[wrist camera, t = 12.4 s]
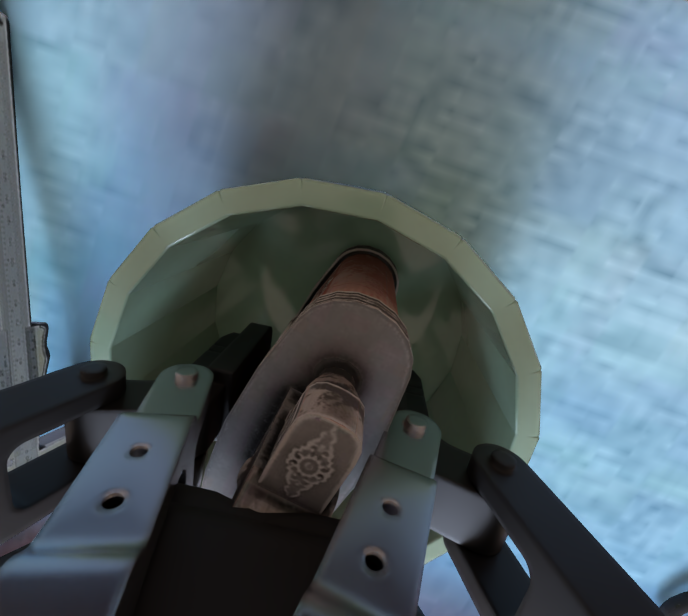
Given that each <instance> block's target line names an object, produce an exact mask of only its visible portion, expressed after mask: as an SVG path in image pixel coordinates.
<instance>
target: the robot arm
mask: <svg viewBox="0 0 688 616" xmlns="http://www.w3.org/2000/svg"><path fill="white" fill-rule="evenodd" d="M272 332H273V330H272V327H271V326H267V325H262V324H257V323H252V322H251V323H250V324H249V325H248V326H247V327H246V328H245V329H244V330H243V331H242V332H241V333H235V332H233V333H230V334H227V335H225V336H222V337H221V338H220V339H219V340H218V341H216V342H215V344H214V345H212V346H211V347H210V348H209V350H207V351H206V352H205V353H203V354H202V355H201V356H200V357H199V358H198V359H197V360H196V361H195V362H194V363H193V364H179V365H174V366H171V367H168V368H166V369H164V370H163V371H162V372H161V373H160V374H159V375H158V377H157V378H156V380H126V369H125V367H124V366H123V365H122V364H120V363H117V362H114V361H108V360H94V361H87V362H82V363H79V364H75V365H72V366H70V367H67V368H64V369H61V370H58V371H55V372H52V373H49V374H46V375H43V376H40V377H37V378H34V379H31V380H28V381H26V382H23V383H20V384H17V385H14V386H11V387H8V388H5V389H2V390H0V545H2V544H3V543H5V542H6V541H8V540H10V539H11V538H13V537H14V536H16V535H17V534H19V533H20V532H22V531H24V530H25V529H27V528H28V527H30V526H31V525H33V524H34V523H36V522H38V521H39V520H41V519H42V518H44V517H45V516H47V515H48V514H50V513H52V512H53V513H52V514H51V515H50V517H49V518H48V520H47V521H46V523H45V524H44V526H43V527H42V529H41V530H40V532H39V533H38V535H37V536H36V538H35V539H34V540H33V542H31V543H29V544H27V545H25V546H23V547H21V548H19V549H17V550H15V551H12V552H10V553H8V554H6V555H4V556H2V557H0V616H425V615H424V614H423V612H422V611H421V609H420V608H419V606H418V600H419V594H420V587H421V581H422V575H423V569H424V562H425V556H426V550H427V543H428V537H429V531H430V529H431V530H433V531H435V532H437V533H439V534H441V535H443V541H444V544H445V547H446V549H447V551H448V553H449V555H450V557H451V559H452V561H453V563H454V565H455V567H456V569H457V571H458V573H459V575H460V577H461V579H462V581H463V583H464V585H465V587H466V589H467V591H468V593H469V594H470V596H471V598H472V600H473V602H474V604H475V606H476V608H477V610H478V612H479V614H480V616H666V615H665V614H664V613H663V612H662V611H661V610H660V609H659V607H658V606H657V605H656V604H655V603H654V602H653V601H652V600H651V599H650V598H649V597H648V595H647V594H646V593H645V592H644V591H643V590H642V589H641V588H640V587H639V586H638V585H637V583H636V582H635V581H634V580H633V579H632V578H631V577H630V576H629V575H628V574H627V573H626V571H625V570H624V569H623V568H622V567H621V566H620V565H619V564H618V563H617V562H616V561H615V559H614V558H613V557H612V556H611V555H610V554H609V553H608V552H607V551H606V550H605V549H604V547H603V546H602V545H601V544H600V543H599V542H598V541H597V540H596V539H595V538H594V537H593V535H592V534H591V533H590V532H589V531H588V530H587V529H586V528H585V527H584V526H583V525H582V523H581V522H580V521H579V520H578V519H577V518H576V517H575V516H574V515H573V514H572V513H571V511H570V510H569V509H568V508H567V507H566V506H565V505H564V504H563V503H562V502H561V501H560V500H559V498H558V497H557V496H556V495H555V494H554V493H553V492H552V491H551V490H550V489H549V488H548V486H547V485H546V484H545V483H544V482H543V481H542V480H541V479H540V478H539V477H538V476H537V474H536V473H535V472H534V471H533V470H532V469H531V468H530V467H529V466H528V465H527V464H526V462H525V461H524V460H523V459H521V458H520V457H519V456H518V455H516V454H515V453H513V452H512V451H510V450H508V449H506V448H504V447H501V446H498V445H495V444H488V443H484V444H479V445H477V446H476V447H475V448H474V450H473V452H472V454H470V453H468V452H465V451H463V450H461V449H458V448H456V447H454V446H452V445H450V444H448V443H447V442H445V441H444V440H442V439H441V430H440V428H439V426H438V425H437V424H436V423H435V421H433V420H432V419H431V418H429V415H428V411H427V406H426V401H425V397H424V391H423V386H422V382H421V378H420V377H419V376H418V375H417V374H416V373H415V371H414V370H412V372H411V377H410V380H409V382H408V384H407V387H406V389H405V392H404V394H403V396H402V399H401V401H400V403H399V406H398V408H397V410H396V413H395V415H394V417H393V420H392V422H391V425H390V427H389V429H388V432H386V431H384V432H383V434H382V436H381V439H380V441H379V443H378V446H377V448H376V450H375V453H374V455H372V454H370V455H369V457H368V459H367V461H366V464H365V466H364V468H363V470H362V473H361V475H360V477H359V479H358V481H357V484H356V486H355V488H354V490H353V493H352V495H351V497H350V499H349V501H348V504H347V506H346V508H345V510H344V512H343V515H342V517H341V519H336V518H332V517H327V516H323V515H318V514H314V513H260V512H256V511H254V510H252V509H250V508H238V507H232V506H233V504H234V502H235V501H234V500H232V499H230V498H228V497H226V496H224V495H222V494H220V493H218V492H216V491H212V490H208V489H204V488H200V485H201V482H202V478H203V474H204V470H205V467H206V463H207V459H208V448H209V447H210V446H211V444H212V443H213V441H217V439H218V436H219V434H220V431H221V429H222V426H223V424H224V421H225V419H226V418H227V416H228V414H229V413H230V411H231V410H232V408H233V406H234V405H235V403H236V401H237V400H238V398H239V397H240V395H241V393H242V392H243V390H244V388H245V387H246V385H247V384H248V382H249V380H250V379H251V377H252V376H253V374H254V372H255V371H256V369H257V368H258V366H259V365H260V363H261V362H262V360H263V359H264V358H265V356H266V355H267V353H268V352H269V351H270V349H271V341H272ZM63 424H64V425H65V437H66V443H64V444H62V445H60V446H58V447H56V448H55V449H53V450H51V451H49V452H47V453H45V454H43V455H41V456H39V457H37V458H35V459H33V460H31V461H29V462H27V463H25V464H23V465H21V466H19V467H17V468H15V469H13V470H11V471H9V472H8V470H7V461H8V458H9V457H10V455H11V454H12V452H13V451H14V450H15V449H16V448H17V447H19V446H20V445H21V444H23V443H25V442H27V441H29V440H31V439H33V438H35V437H37V436H39V435H42V434H44V433H46V432H48V431H50V430H52V429H54V428H57V427H59V426H61V425H63ZM508 535H509V537H510V538H511V539H512V541H513V542H514V544H515V545H516V547H517V548H518V550H519V551H520V553H521V554H522V555H523V557H524V559H525V561H526V563H527V565H528V568H529V572H530V578H529V576H528V575H527V573H526V572H525V570H524V569H523V567H522V566H521V564H520V563H519V561H518V560H517V559H516V557H515V556H514V554H513V553H512V551H511V550H510V548H509V547H508V545H507V544H506V542H505V540H506V538H507V536H508Z"/></svg>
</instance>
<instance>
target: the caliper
mask: <svg viewBox="0 0 688 616" xmlns="http://www.w3.org/2000/svg"><path fill="white" fill-rule="evenodd" d="M47 336H48V324H47V323H45V322H31V312H30V299H29V287H28V274H27V262H26V249H25V237H24V224H23V212H22V199H21V186H20V172H19V158H18V144H17V129H16V115H15V101H14V87H13V73H12V59H11V44H10V30H9V21H8V17H7V16H6V15H5V14H3V13H2V12H1V11H0V390H2V389H5V388H8V387H11V386H14V385H17V384H20V383H23V382H26V381H28V380H31V379H34V378H37V377H40V376H43V375H46V373H47V368H48V363H49V359H50V353H49V350H48V347H47ZM64 443H66V437H65V427H62V428H60V429H58V430H55V431H53V432H51V433H48V434H46V435H44V436H41V437H39V436H37V437H35V438H33V439H31V440H29V441H27V442H25V443H23V444H21V445H20V446H19V447H17V448H16V449H15V450H14V451H13V452H12V454H11V455H10V457H9V458H8V461H7V470H8V472H9V471H11V470H13V469H15V468H17V467H19V466H21V465H23V464H25V463H27V462H29V461H31V460H33V459H35V458H37V457H39V456H41V455H43V454H45V453H47V452H49V451H51V450H53V449H55V448H56V447H58V446H60V445H62V444H64Z"/></svg>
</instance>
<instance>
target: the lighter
mask: <svg viewBox="0 0 688 616" xmlns="http://www.w3.org/2000/svg"><path fill="white" fill-rule="evenodd" d="M398 286H399V278H398V273H397V269H396V266H395V264H394V263H393V261H392V260H391V258H390V257H389V256H388V255H387V254H385V253H384V252H383V251H381V250H380V249H377V248H375V247H372V246H368V245H357V246H353V247H350V248H347V249H346V250H345V251H344V252H342V253H341V254H340V255H339V256H338V258H337V259H336V260H335V261H334V262H333V264H332V265H331V266H330V267H329V269H328V270H327V271H326V272H325V273H324V275H323V276H322V277H321V278H320V280H319V281H318V282H317V283H316V285H315V286H314V288H313V289H312V291H311V292H310V294H309V296H308V297H307V299H306V300H305V302H304V304H303V305H302V307H301V308H300V310H299V312H298V313H297V315H296V316H295V318H294V319H292V320H291V321H290V323H289V324H288V325H287V327H286V328H285V330H284V331H283V333H282V334H281V335H280V337H279V339H278V340H277V342H276V343H275V345H274V346H273V347H272V348H271V350H270V351H269V352H268V353H267V355H266V356H265V358H264V359H263V360H262V362H261V363H260V365H259V366H258V368H257V369H256V371H255V372H254V374H253V376H252V377H251V379H250V380H249V382H248V384H247V385H246V387H245V388H244V390H243V392H242V393H241V395H240V397H239V398H238V400H237V401H236V403H235V405H234V406H233V408H232V410H231V411H230V413H229V414H228V416H227V418H226V419H225V421H224V424H223V426H222V429H221V431H220V434H219V436H218V439H217V441H216V444H215V446H214V449H213V451H212V454H211V456H210V459H209V461H208V464H207V467H206V469H205V472H204V477H203V481H202V486H201V488H204V489H208V490H212V491H216V492H218V493H220V494H222V495H224V496H226V497H228V498H230V499H232V500H234V501H235V502H234V504H233V506H232V507H238V508H250V509H252V510H254V511H256V512H260V513H314V514H318V515H323V516H327V517H331V516H332V514H333V512H334V511H335V510H336V509H337V508H338V506H339V505H340V504H341V503H342V502H343V500H344V499H345V498H346V497H347V496H348V495H349V493H350V492H351V491H352V490H353V489H354V488H355V486H356V484H357V481H358V479H359V477H360V475H361V473H362V470H363V468H364V466H365V464H366V461H367V459H368V457H369V455H370V454H372V455H374V453H375V450H376V448H377V446H378V443H379V441H380V439H381V436H382V434H383V432H384V431H386V432H388V429H389V427H390V425H391V422H392V420H393V417H394V415H395V413H396V410H397V408H398V406H399V403H400V401H401V399H402V396H403V394H404V392H405V389H406V387H407V384H408V382H409V380H410V377H411V372H412V366H413V355H412V349H411V344H410V340H409V336H408V332H407V328H406V327H405V325H404V324H403V322H402V321H401V319H400V318H399V316H398V310H397V302H396V295H397V292H398Z"/></svg>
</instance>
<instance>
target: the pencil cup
mask: <svg viewBox="0 0 688 616" xmlns="http://www.w3.org/2000/svg"><path fill="white" fill-rule="evenodd" d="M357 245H368V246H372V247H375V248H377V249H380V250H381V251H383V252H384V253H385V254H387V255H388V256H389V257H390V258H391V260H392V261H393V263H394V264H395V266H396V269H397V273H398V278H399V286H398V292H397V295H396V302H397V310H398V316H399V318H400V319H401V321H402V322H403V324H404V325H405V327H406V328H407V332H408V336H409V340H410V344H411V349H412V355H413V366H412V370H414V371H415V373H416V374H417V375H418V376H419V377H420V378H421V382H422V386H423V391H424V397H425V401H426V406H427V411H428V415H429V418H431V419H432V420H433V421H435V423H436V424H437V425H438V426H439V428H440V430H441V439H442V440H444V441H445V442H447V443H448V444H450V445H452V446H454V447H456V448H458V449H461V450H463V451H465V452H468V453H470V454H472V452H473V450H474V448H475V447H476V446H477V445H479V444H484V443H488V444H495V445H498V446H501V447H504V448H506V449H508V450H510V451H512V452H513V453H515V454H516V455H518V456H519V457H520V458H521V459H523V460H524V461H525V462H526V464H527V465H528V463H529V461H530V458H531V456H532V454H533V451H534V449H535V447H536V444H537V442H538V440H539V432H540V402H541V366H540V363H539V360H538V357H537V354H536V352H535V349H534V346H533V343H532V341H531V338H530V335H529V332H528V329H527V327H526V324H525V321H524V318H523V316H522V313H521V310H520V307H519V305H518V302H517V301H516V300H515V297H514V296H513V295H512V294H511V292H510V291H509V290H508V289H507V288H506V287H505V285H504V284H503V283H502V282H501V281H500V280H499V278H498V277H497V276H496V275H495V274H494V273H493V271H492V270H491V269H490V268H489V267H488V266H487V264H486V263H485V262H484V261H483V260H482V259H481V257H480V256H479V255H478V254H477V253H476V252H475V250H474V249H473V248H472V247H471V246H470V245H469V243H468V242H467V241H466V240H465V239H463V238H462V237H461V236H460V235H458V234H457V233H455V232H453V231H452V230H450V229H448V228H447V227H445V226H443V225H442V224H440V223H438V222H437V221H435V220H433V219H432V218H430V217H428V216H426V215H425V214H423V213H421V212H420V211H418V210H416V209H414V208H413V207H411V206H409V205H407V204H406V203H404V202H402V201H400V200H399V199H397V198H395V197H393V196H392V195H390V194H388V193H385V192H384V191H379V190H373V189H368V188H363V187H358V186H353V185H348V184H342V183H337V182H330V181H323V180H316V179H310V178H292V179H286V180H279V181H272V182H265V183H259V184H252V185H245V186H238V187H232V188H225V189H221V190H220V191H215V192H214V193H212V194H210V195H208V196H206V197H205V198H203V199H201V200H199V201H197V202H196V203H194V204H192V205H190V206H188V207H187V208H185V209H183V210H181V211H179V212H177V213H176V214H174V215H172V216H170V217H168V218H167V219H165V220H163V221H161V222H159V223H158V224H156V225H155V226H154V227H152V228H151V229H150V230H149V231H148V232H147V234H146V235H145V236H144V237H143V238H142V240H141V241H140V242H139V243H138V245H137V246H136V247H135V248H134V249H133V251H132V252H131V253H130V254H129V256H128V257H127V258H126V259H125V260H124V262H123V263H122V264H121V265H120V267H119V268H118V269H117V270H116V271H115V273H114V274H113V275H112V276H111V278H110V280H109V281H108V283H107V286H106V290H105V293H104V296H103V299H102V302H101V306H100V309H99V312H98V315H97V318H96V321H95V325H94V328H93V331H92V334H91V337H90V340H91V341H90V354H91V361H94V360H108V361H114V362H117V363H120V364H122V365H123V366H124V367H125V369H126V380H156V378H157V377H158V375H159V374H160V373H161V372H162V371H163V370H164V369H166V368H168V367H171V366H174V365H179V364H193V363H194V362H195V361H196V360H197V359H198V358H199V357H200V356H201V355H202V354H203V353H205V352H206V351H207V350H209V348H210V347H211V346H212V345H214V344H215V342H216V341H218V340H219V339H220V338H221V337H222V336H225V335H227V334H230V333H233V332H235V333H241V332H242V331H243V330H244V329H245V328H246V327H247V326H248V325H249V324H250V323H251V322H252V323H257V324H262V325H267V326H271V327H272V330H273V332H272V341H271V348H272V347H273V346H274V345H275V343H276V342H277V340H278V339H279V337H280V335H281V334H282V333H283V331H284V330H285V328H286V327H287V325H288V324H289V323H290V321H291V320H292V319H294V318H295V316H296V315H297V313H298V312H299V310H300V308H301V307H302V305H303V304H304V302H305V300H306V299H307V297H308V296H309V294H310V292H311V291H312V289H313V288H314V286H315V285H316V283H317V282H318V281H319V280H320V278H321V277H322V276H323V275H324V273H325V272H326V271H327V270H328V269H329V267H330V266H331V265H332V264H333V262H334V261H335V260H336V259H337V258H338V256H339V255H340V254H341V253H342V252H344V251H345V250H346V249H347V248H350V247H353V246H357ZM270 350H271V349H270ZM215 444H216V441H213V443H212V444H211V446H210V447H209V448H208V459H207V463H206V467H207V464H208V461H209V459H210V456H211V454H212V451H213V449H214V446H215ZM206 467H205V469H206ZM204 472H205V470H204ZM203 477H204V474H203ZM202 481H203V478H202ZM201 486H202V482H201V485H200V488H201ZM353 490H354V489H353ZM353 490H352V491H351V492H350V493H349V495H348V496H347V497H346V498H345V499H344V500H343V502H342V503H341V504H340V505H339V506H338V508H337V509H336V510H335V511H334V512H333V514H332V516H331V517H332V518H336V519H341V517H342V515H343V512H344V510H345V508H346V506H347V504H348V501H349V499H350V497H351V495H352V493H353ZM446 552H448V551H447V549H446V547H445V544H444V541H443V535H441V534H439V533H437V532H435V531H433V530H431V529H430V531H429V537H428V543H427V550H426V556H425V562H424V565H425V564H426V563H428V562H430V561H432V560H434V559H435V558H437V557H439V556H441V555H443V554H445V553H446Z"/></svg>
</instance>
